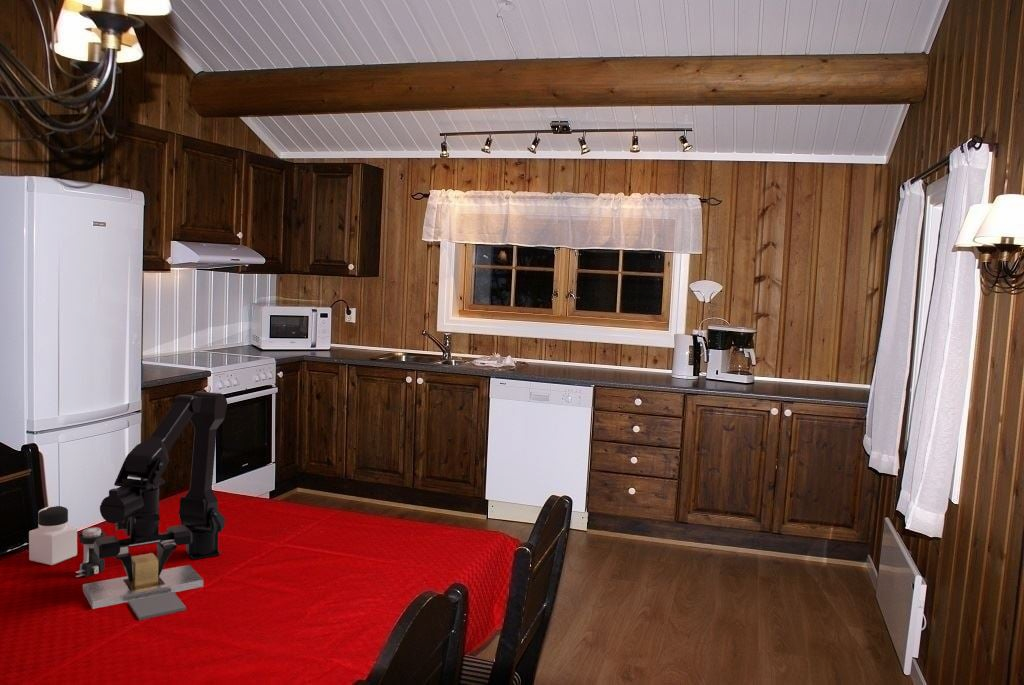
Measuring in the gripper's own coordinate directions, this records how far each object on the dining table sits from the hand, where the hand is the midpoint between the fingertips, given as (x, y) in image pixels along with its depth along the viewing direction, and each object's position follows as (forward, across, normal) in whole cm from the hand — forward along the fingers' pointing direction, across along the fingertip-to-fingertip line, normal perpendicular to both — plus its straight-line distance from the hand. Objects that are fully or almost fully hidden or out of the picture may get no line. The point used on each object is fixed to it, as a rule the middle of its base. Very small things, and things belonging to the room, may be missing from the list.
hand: (144, 579), depth 176 cm
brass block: (+2, 0, 0) cm, 2 cm away
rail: (+2, 0, 0) cm, 2 cm away
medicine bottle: (+2, +13, -28) cm, 31 cm away
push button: (+2, +8, -14) cm, 17 cm away
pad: (+2, 0, +10) cm, 11 cm away
